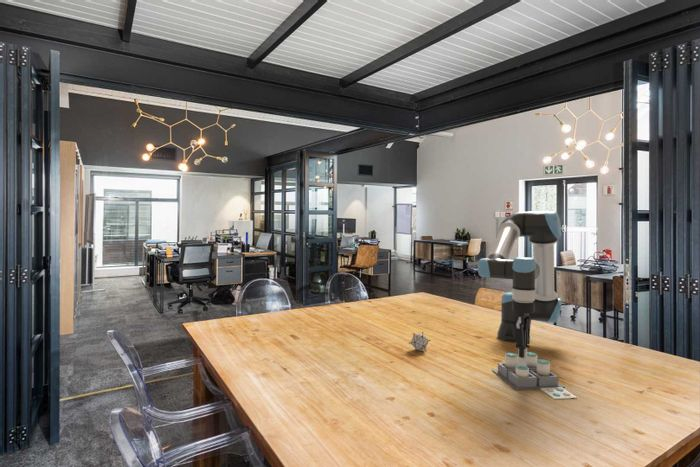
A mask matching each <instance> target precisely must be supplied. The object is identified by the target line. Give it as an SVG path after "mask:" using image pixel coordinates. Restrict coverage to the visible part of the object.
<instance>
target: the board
mask: <svg viewBox="0 0 700 467" xmlns="http://www.w3.org/2000/svg"><path fill="white" fill-rule="evenodd" d="M517 365H518V363H517ZM536 369H537V368H529V377H518V376H517V375H516V369H508V368H506V367H505V362H497V369H492V372H493V373H495V375H496V376H498V377H499V378H500V379H502V380H503V381H504V382H505V383H506V384H508V385H509V386H510V387H511V388H513V389H514V390H515V391H528V390H531V391H533V390H535V391H536V390H541V389H540V388H555V387H562V388H564V389H566V388H565V386H564V385H562V384H560V383H559V376H558V375H556V374H554V372H552V371H550V376H539V375H538V374H536Z"/></svg>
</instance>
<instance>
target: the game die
mask: <svg viewBox="0 0 700 467" xmlns="http://www.w3.org/2000/svg"><path fill="white" fill-rule="evenodd" d="M412 335H413V336H412V337H411V340H410V342H408V344H411V346H412V347H413V348H414V350H415V352H416V353H417V352H418V351H427V346H428V344H429V342H431V339H428V338H427V337H426V336H425V335H424V331H422V333H414V332H413V333H412Z"/></svg>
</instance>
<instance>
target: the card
mask: <svg viewBox="0 0 700 467" xmlns="http://www.w3.org/2000/svg"><path fill="white" fill-rule="evenodd" d="M539 390H541V391H542V392H543V393H545V394H546V395H548V396H549V397H550V398H552V399H553V400H571V398H575V399H578V397H577V396H576V395H574V394H573V393H571V392H570V391H568V390H566V388H562V387H555V388H540V389H539Z"/></svg>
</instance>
